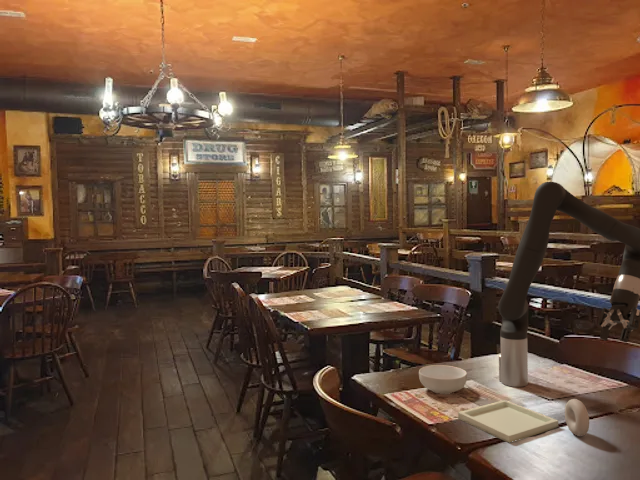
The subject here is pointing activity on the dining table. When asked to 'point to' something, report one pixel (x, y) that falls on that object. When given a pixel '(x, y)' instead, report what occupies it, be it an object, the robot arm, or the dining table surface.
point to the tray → (508, 420)
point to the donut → (577, 417)
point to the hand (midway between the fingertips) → (613, 340)
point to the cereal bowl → (442, 378)
